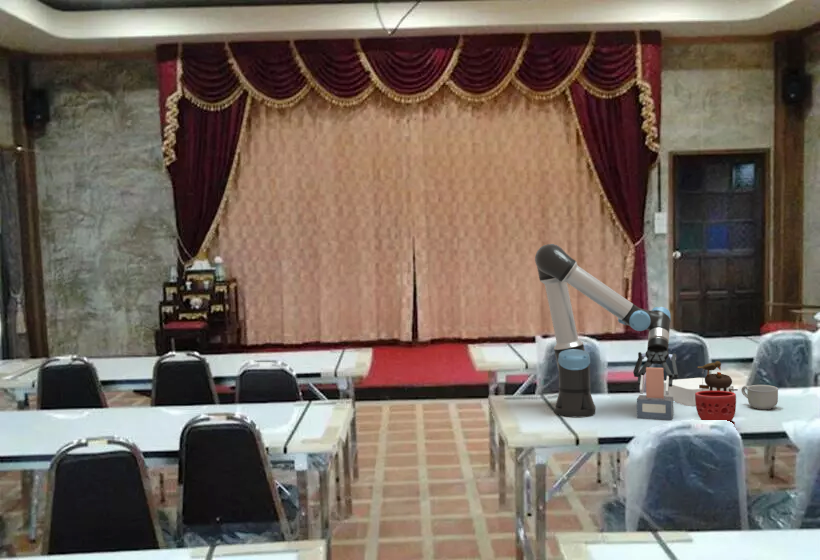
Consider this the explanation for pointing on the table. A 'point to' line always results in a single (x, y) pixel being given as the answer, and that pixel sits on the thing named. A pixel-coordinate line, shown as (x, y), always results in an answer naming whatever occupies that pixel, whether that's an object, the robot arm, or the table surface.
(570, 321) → the robot arm
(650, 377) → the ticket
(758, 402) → the teacup
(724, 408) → the plant pot
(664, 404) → the block
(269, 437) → the table surface
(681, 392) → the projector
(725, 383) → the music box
